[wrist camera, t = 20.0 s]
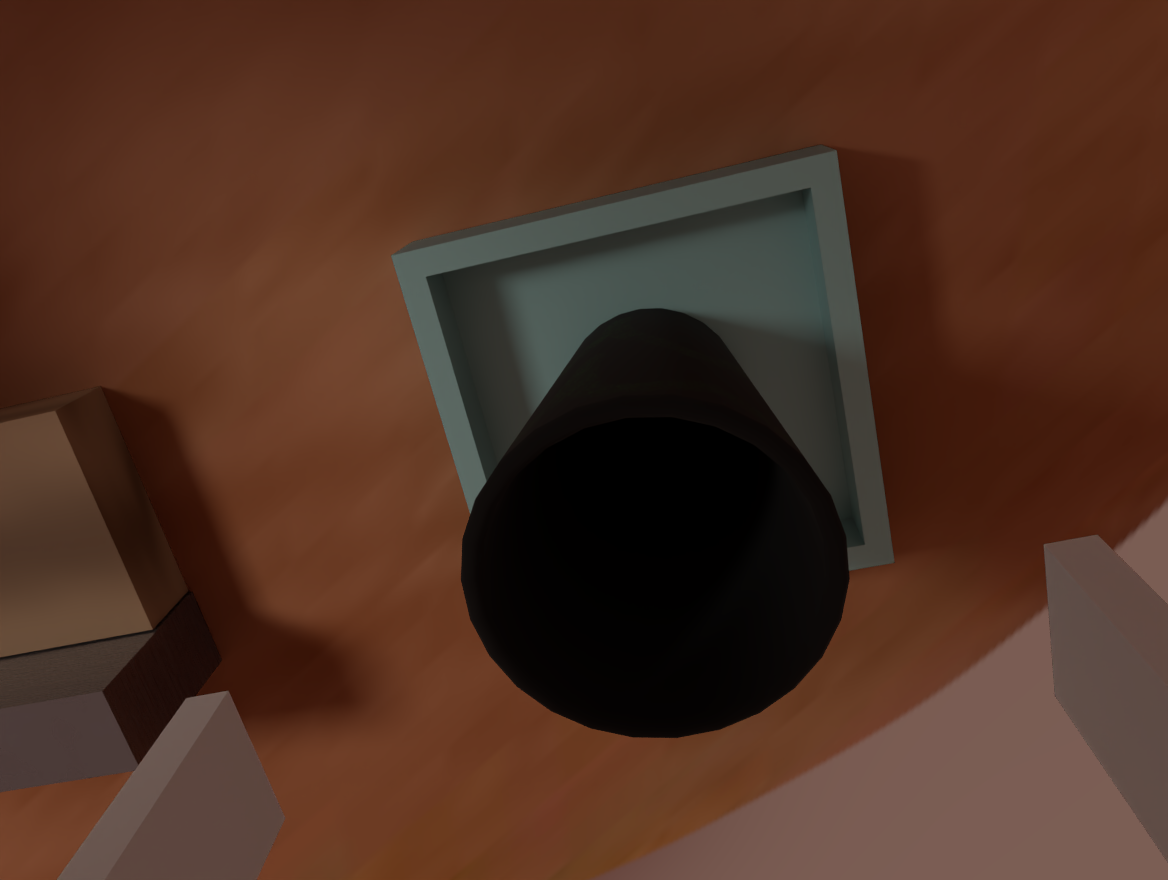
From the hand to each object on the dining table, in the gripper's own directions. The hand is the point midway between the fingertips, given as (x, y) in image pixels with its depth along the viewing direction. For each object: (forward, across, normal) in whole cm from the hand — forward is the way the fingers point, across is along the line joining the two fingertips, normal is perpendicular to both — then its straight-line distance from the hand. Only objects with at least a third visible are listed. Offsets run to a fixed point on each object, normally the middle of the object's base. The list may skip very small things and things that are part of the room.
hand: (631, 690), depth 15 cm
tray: (+16, +1, 0) cm, 16 cm away
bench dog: (+17, -21, -6) cm, 28 cm away
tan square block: (+17, -22, 0) cm, 27 cm away
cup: (+16, +1, 0) cm, 16 cm away
